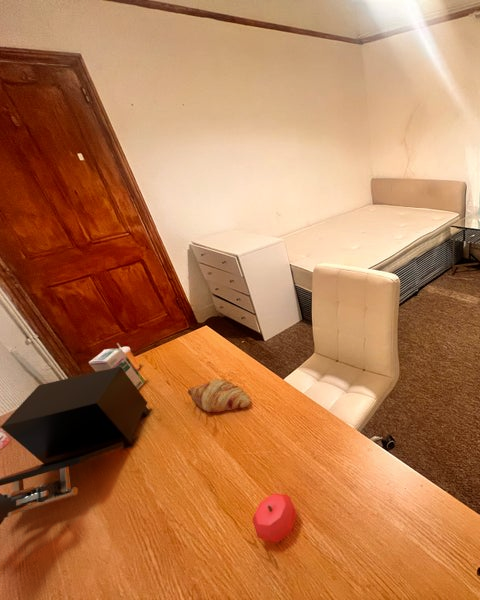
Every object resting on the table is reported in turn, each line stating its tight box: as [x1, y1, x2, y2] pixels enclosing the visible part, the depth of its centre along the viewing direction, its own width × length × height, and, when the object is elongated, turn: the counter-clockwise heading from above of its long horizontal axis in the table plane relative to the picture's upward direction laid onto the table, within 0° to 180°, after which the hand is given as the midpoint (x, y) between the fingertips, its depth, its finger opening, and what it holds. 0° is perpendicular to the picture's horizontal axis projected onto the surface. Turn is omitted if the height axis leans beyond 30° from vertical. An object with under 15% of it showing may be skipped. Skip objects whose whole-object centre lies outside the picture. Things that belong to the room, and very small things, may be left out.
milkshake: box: [116, 342, 141, 371], centre depth 104 cm, size 4×5×10 cm
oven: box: [0, 366, 150, 464], centre depth 79 cm, size 13×18×17 cm
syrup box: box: [88, 348, 146, 390], centre depth 95 cm, size 6×6×14 cm
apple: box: [252, 493, 297, 544], centre depth 60 cm, size 8×8×8 cm
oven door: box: [0, 442, 124, 513], centre depth 69 cm, size 8×17×14 cm
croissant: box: [187, 378, 251, 413], centre depth 90 cm, size 21×10×8 cm, turn 77°
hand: (50, 488), depth 65 cm, fingers closed
